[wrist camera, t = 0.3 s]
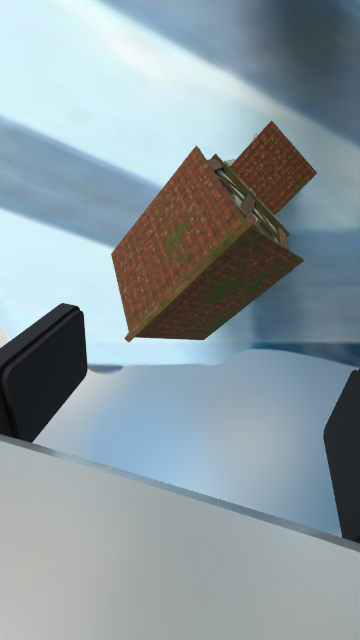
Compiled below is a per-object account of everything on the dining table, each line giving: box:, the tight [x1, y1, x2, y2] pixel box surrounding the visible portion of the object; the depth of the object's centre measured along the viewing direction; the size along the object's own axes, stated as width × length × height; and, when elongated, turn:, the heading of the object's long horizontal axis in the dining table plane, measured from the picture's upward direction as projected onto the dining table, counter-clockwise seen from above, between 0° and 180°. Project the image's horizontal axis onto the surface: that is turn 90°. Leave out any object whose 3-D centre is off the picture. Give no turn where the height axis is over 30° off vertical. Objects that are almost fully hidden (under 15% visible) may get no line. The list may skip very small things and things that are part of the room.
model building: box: [111, 121, 317, 342], centre depth 29 cm, size 10×15×30 cm
